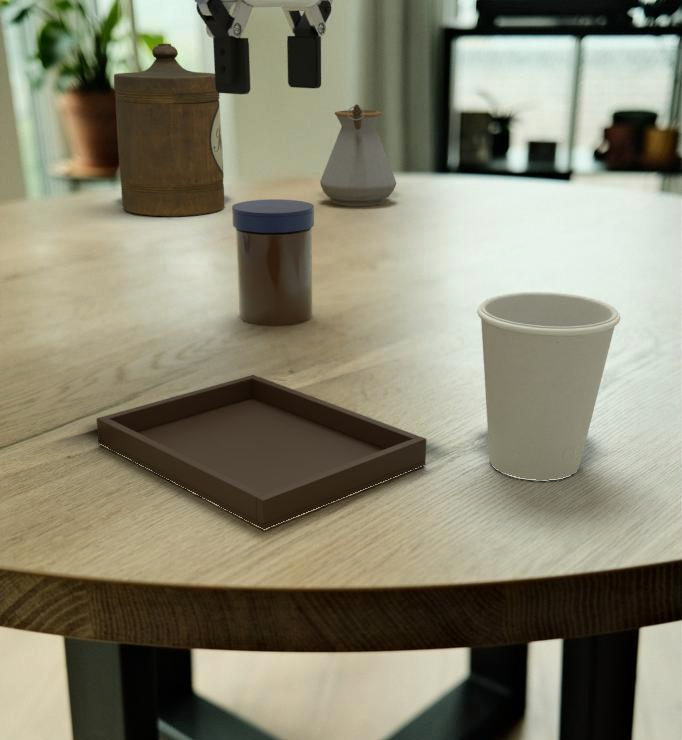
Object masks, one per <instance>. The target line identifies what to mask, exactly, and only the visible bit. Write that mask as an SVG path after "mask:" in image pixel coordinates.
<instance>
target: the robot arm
mask: <svg viewBox="0 0 682 740" xmlns="http://www.w3.org/2000/svg"><path fill="white" fill-rule="evenodd" d="M333 1H334V0H194V2H195V3H196V11H197V14H198V15H199V17H200V18H201V20H202V21H203V23H204V24H205V30H206V34H207V36H208V37H210V38H212V43H213V46H212V47H213V63H214V66H213V67H214V74H215V87H216V91H217V92H218V93H219V94H227V95H228V94H229V95H249V93H250V91H251V65H250V63H251V61H250V42H249V37H242V36H243V34H244V31H245V28H246V25H247V23H248V21H249V18H250V16H251V13H252V10H253V8H281V9H282V11H283V13H284V16H285V18H286V20H287V22H288V25H289V27H290V30H291V32H292V34H293V35H287V40H286V48H287V49H286V51H287V53H286V54H287V56H286V57H287V84H288V86H289V87H290V88H294V89H295V88H296V89H319V88H321V86H322V37H324V36H325V34H326V32H327V26H326V23H327V21H328V19H329V17H330V15H331V13H332V4H333ZM231 11H232V12H231ZM302 11H303V13H301V12H302ZM230 12H231V13H232V14H231V13H230Z"/></svg>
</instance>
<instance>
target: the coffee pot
mask: <svg viewBox="0 0 682 740" xmlns="http://www.w3.org/2000/svg"><path fill="white" fill-rule="evenodd" d="M334 115H335V116H336V118H337V120H338V121H339V124H340V126H341V127H340V130H339V132H338V134H337V137H336V139H335V143H334V145H333V147H332V149H331V153H330V155H329V158H328V161H327V163H326V165H325V168H324V171H323V173H322V175H321V178H320V181H319V183H320V187H321V189H322V192H323V193H324V194H325V196H326V197H327V198H329V199H331V200H332V203H333V204H335V205H339V206H345V207H346V206H347V207H367V206H366V205H372V206H377V205H376V204H378V205H382V204H384V200H385V199H387V198H389V197H390V196H391V195H392V193H393V192H394V190H395V188H396V186H397V180H396V177H395V175H394V172H393V170H392V166H391V164H390V161H389V159H388V156H387V153H386V150H385V148H384V145H383V142H382V140H381V137H380V134H379V132H378V129H377V123H378V118H379V116H381V115H382V113H381V111H378V110H367V109H364V108H363V107H362V106H360V105H359V104H358V103H356V104H354V105H353V106H351V107H350V108H348V109H347V110H338V111H335V112H334ZM381 203H382V204H381Z"/></svg>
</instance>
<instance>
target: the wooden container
mask: <svg viewBox="0 0 682 740" xmlns="http://www.w3.org/2000/svg"><path fill="white" fill-rule="evenodd" d="M151 51H152V56H153V57H154V58H155V59H154V61H153V63H152V64H151V65H150V66H149V67H147V68H146V69H145V70H142V71H135V72H118V73H114V74H113V89H114V96H115V98H114V99H115V113H116V114H115V115H116V116H115V117H116V133H117V150H118V151H117V152H118V162H119V163H118V166H119V176H120V177H119V179H120V185H121V188H120V191H121V200H122V208H123V210H124V211H126V212H128V213H131V214H136V215H141V216H150V217H187V216H198V215H205V214H211V213H215V212H218V211H221V210H223V209H224V208H225V186H224V176H225V175H224V174H225V173H224V153H223V142H222V141H223V139H222V126H221V125H222V124H221V108H220V96H221V94H220V93H218V92H217V91H216V87H215V72H214V73H212V72H200V71H191V70H187V69H185V68H184V67H183V66H182V65H181V64H180V63H179V62H178V61H177V60H176V58H177V56H178V53H179V52H178V50H177V48H176V47H175V46H173V45H172V44H171V43H158V44H157V45H155V46H154V47H153V48H152V50H151Z"/></svg>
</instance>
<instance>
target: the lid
mask: <svg viewBox="0 0 682 740" xmlns="http://www.w3.org/2000/svg"><path fill="white" fill-rule="evenodd" d="M231 213H232V215H231V216H232V226H233V228H235V229H236V228H237V229H240V230H244V231H251V232H264V233H279V232H293V231H300V230H305V229H309V228H313V227H314V226H315V205H314V204H313V203H310V202H309V201H303V200H296V199H282V198H281V199H279V198H276V199H275V198H274V199H254V200H246V201H241V202H237V203H234V204H233V205H232V206H231Z"/></svg>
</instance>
